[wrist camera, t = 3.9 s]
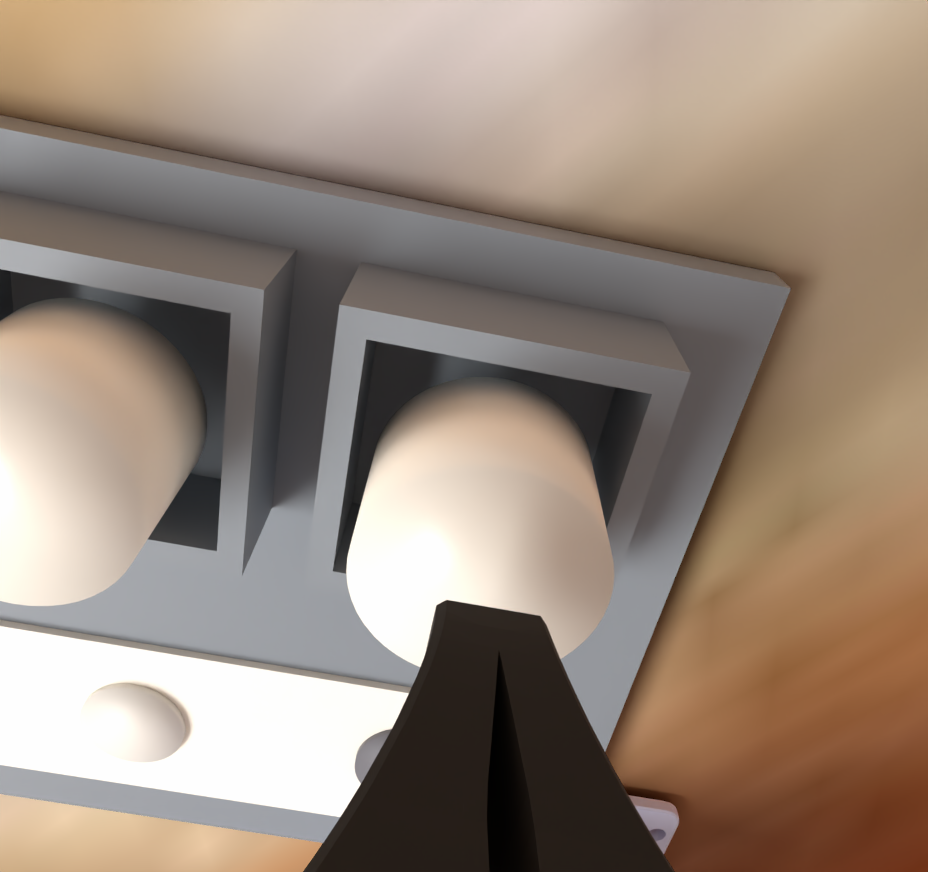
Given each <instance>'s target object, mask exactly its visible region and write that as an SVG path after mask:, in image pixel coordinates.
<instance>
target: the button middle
mask: <svg viewBox="0 0 928 872" xmlns="http://www.w3.org/2000/svg"><path fill="white" fill-rule="evenodd" d="M207 428H208V425H207V410H206V404H205V400H204V396H203V393H202V390H201V387H200V385H199V383H198V381H197V378H196V376H195V374H194V372H193V371H192V369H191V368H190V366H189V364H188V363H187V361H186V360H185V359H184V357H183V356H182V355H181V354H180V352H179V351H178V350H177V349H176V348H175V347H174V346H173V345H172V343H171V342H170V341H169V340H168V339H167V338H166V337H164V336H163V335H162V334H161V333H160V332H158V331H157V330H156V329H155V328H153V327H152V326H151V325H149V324H147V323H146V322H144V321H143V320H141V319H140V318H138V317H136V316H134V315H132V314H130V313H128V312H126V311H124V310H122V309H119V308H117V307H114V306H111V305H109V304H105V303H102V302H98V301H94V300H88V299H80V298H55V299H47V300H42V301H39V302H35V303H31V304H29V305H27V306H25V307H22V308H20V309H18V310H16V311H15V312H13V313H12V314H10V315H9V316H7V317H5V318H4V319H2V320H1V321H0V601H3V602H7V603H12V604H19V605H27V606H54V605H64V604H69V603H74V602H78V601H81V600H84V599H87V598H90V597H92V596H94V595H96V594H98V593H100V592H102V591H104V590H106V589H107V588H108V587H110V586H111V585H113V584H114V583H115V582H116V581H117V580H118V579H119V578H120V577H121V576H122V575H123V574H124V573H125V572H126V571H127V570H128V568H129V567H130V565H131V564H132V562H133V561H134V559H135V558H136V556H137V555H138V553H139V552H140V550H141V549H142V547H143V545H144V544H145V542H146V541H147V539H148V538H149V536H150V535H151V533H152V532H153V530H154V528H155V527H156V525H157V524H158V522H159V521H160V519H161V518H162V516H163V515H164V513H165V511H166V510H167V508H168V507H169V505H170V504H171V502H172V501H173V499H174V497H175V496H176V494H177V493H178V491H179V490H180V488H181V487H182V485H183V484H184V482H185V480H186V479H187V477H188V476H189V474H190V473H191V471H192V470H193V468H194V467H195V465H196V463H197V462H198V460H199V458H200V456H201V453H202V451H203V448H204V445H205V441H206V436H207Z"/></svg>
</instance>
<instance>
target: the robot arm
mask: <svg viewBox="0 0 928 872" xmlns="http://www.w3.org/2000/svg"><path fill="white" fill-rule="evenodd" d="M678 825H679V816H678V812H677V809H676V807H675V806H674V805H673V804H671V803H669V802H666V801H662V800H656V799H649V798H643V797H637V796H631V795H628V794H627V792H626V790H625V788H624V787H623V785H622V783H621V781H620V779H619V778H618V776H617V774H616V772H615V770H614V769H613V767H612V765H611V763H610V761H609V759H608V757H607V755H606V753H605V751H604V749H603V747H602V745H601V743H600V742H599V740H598V738H597V736H596V734H595V732H594V730H593V728H592V726H591V724H590V722H589V720H588V718H587V716H586V714H585V712H584V710H583V708H582V706H581V704H580V701H579V699H578V697H577V695H576V693H575V691H574V688H573V686H572V684H571V682H570V680H569V678H568V675H567V673H566V671H565V668H564V666H563V664H562V662H561V659H560V657H559V654H558V652H557V650H556V647H555V645H554V642H553V640H552V638H551V635H550V632H549V630H548V627H547V625H546V623H545V622H544V620H543V619H542V617H541V616H539V615H533V614H527V613H521V612H515V611H509V610H504V609H498V608H492V607H486V606H480V605H475V604H469V603H463V602H457V601H451V600H445V601H443V602H441V603H440V604H438V605H436V609H435V613H434V617H433V622H432V626H431V631H430V635H429V639H428V644H427V648H426V653H425V656H424V659H423V661H422V664H421V667H420V669H419V672H418V674H417V677H416V679H415V681H414V683H413V685H412V688H411V690H410V692H409V694H408V696H407V698H406V701H405V703H404V705H403V707H402V709H401V711H400V713H399V716H398V718H397V720H396V722H395V724H394V726H393V728H392V729H391V731H390V733H389V735H388V737H387V739H386V740H385V742H384V744H383V746H382V747H381V749H380V751H379V753H378V755H377V756H376V758H375V760H374V762H373V764H372V765H371V767H370V769H369V771H368V772H367V774H366V776H365V778H364V780H363V781H362V783H361V785H360V786H359V788H358V790H357V791H356V793H355V794H354V796H353V798H352V799H351V801H350V803H349V804H348V806H347V807H346V809H345V810H344V812H343V814H342V815H341V817H340V818H339V820H338V821H337V823H336V824H335V826H334V827H333V829H332V830H331V832H330V833H329V835H328V836H327V838H326V839H325V841H324V842H323V844H322V845H321V847H320V848H319V850H318V851H317V853H316V854H315V856H314V857H313V859H312V860H311V861H310V863H309V864H308V866H307V867H306V868H305V870H304V871H303V872H675V871H674V870H673V868H672V867H671V865H670V863H669V862H668V860H667V859H666V857H665V856H664V853H665V851H666V849H667V847H668V845H669V843H670V841H671V839H672V837H673V835H674V833H675V831H676V829H677V827H678Z"/></svg>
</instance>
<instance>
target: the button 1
mask: <svg viewBox="0 0 928 872" xmlns="http://www.w3.org/2000/svg"><path fill="white" fill-rule="evenodd" d="M346 574H347V585H348V589H349V593H350V597H351V600H352V602H353V605H354V607H355V610H356V612H357V614H358V615H359V617H360V618H361V620H362V622H363V623H364V625H365V626H366V627H367V628H368V630H369V631H370V632H371V633H372V635H373V636H374V637H375V638H376V639H377V640H379V641H380V642H381V643H382V644H383V645H384V646H385V647H386V648H388V649H389V650H390V651H392V652H393V653H395V654H396V655H397V656H399V657H401V658H403V659H404V660H406V661H408V662H410V663H412V664H414V665H416V666H419V667H421V664H422V661H423V659H424V656H425V653H426V648H427V644H428V639H429V635H430V631H431V626H432V622H433V617H434V613H435V609H436V605H438V604H440V603H441V602H443V601H445V600H451V601H457V602H463V603H469V604H475V605H480V606H486V607H492V608H498V609H504V610H509V611H515V612H521V613H527V614H533V615H539V616H541V617H542V619H543V620H544V622H545V623H546V625H547V627H548V630H549V632H550V635H551V638H552V640H553V642H554V645H555V647H556V650H557V652H558V654H559V657H560V659H561V658H563V657H565V656H566V655H567V654H569V653H570V652H572V651H573V650H575V649H576V648H577V647H578V646H579V645H580V644H581V643H583V642H584V641H585V640H586V639H587V638H588V637H589V635H590V634H591V633H592V632H593V631H594V630H595V628H596V627H597V625H598V624H599V622H600V621H601V619H602V618H603V616H604V614H605V612H606V609H607V607H608V605H609V602H610V599H611V595H612V591H613V584H614V561H613V557H612V552H611V548H610V543H609V539H608V534H607V529H606V525H605V520H604V516H603V511H602V507H601V502H600V497H599V493H598V488H597V484H596V479H595V475H594V470H593V466H592V461H591V457H590V452H589V448H588V445H587V443H586V440H585V438H584V435H583V433H582V432H581V430H580V428H579V426H578V425H577V423H576V422H575V421H574V419H573V418H572V417H571V416H570V414H569V413H568V412H567V411H566V410H565V409H564V408H563V407H562V406H560V405H559V404H558V403H557V402H556V401H554V400H553V399H551V398H550V397H549V396H547V395H546V394H544V393H542V392H540V391H538V390H536V389H535V388H532V387H530V386H527V385H525V384H522V383H519V382H515V381H511V380H507V379H502V378H494V377H470V378H461V379H456V380H452V381H448V382H444V383H441V384H439V385H436V386H433V387H431V388H429V389H427V390H425V391H423V392H421V393H419V394H418V395H416V396H415V397H413V398H412V399H411V400H409V401H408V402H406V403H405V404H404V405H403V406H402V407H401V408H400V409H399V410H398V411H397V412H396V413H395V414H394V415H393V417H392V418H391V419H390V420H389V422H388V423H387V425H386V426H385V428H384V430H383V431H382V433H381V435H380V438H379V440H378V443H377V445H376V449H375V453H374V457H373V460H372V464H371V468H370V472H369V476H368V479H367V483H366V487H365V491H364V495H363V499H362V502H361V506H360V510H359V514H358V518H357V521H356V525H355V529H354V533H353V537H352V540H351V544H350V548H349V553H348V557H347V569H346Z"/></svg>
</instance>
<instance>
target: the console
mask: <svg viewBox="0 0 928 872" xmlns="http://www.w3.org/2000/svg"><path fill="white" fill-rule="evenodd" d="M790 290H791V288H790V287H789V286H788V285H787V284H786V283H785V282H784V281H783V280H782V279H781V278H779V277H778V276H777V275H776V274H775V273H774V272H769V271H764V270H759V269H754V268H749V267H744V266H739V265H734V264H729V263H725V262H720V261H715V260H710V259H705V258H700V257H695V256H690V255H685V254H680V253H675V252H671V251H666V250H661V249H656V248H651V247H646V246H641V245H636V244H631V243H626V242H621V241H617V240H612V239H607V238H602V237H597V236H592V235H587V234H582V233H577V232H572V231H568V230H563V229H558V228H553V227H548V226H543V225H538V224H533V223H528V222H523V221H518V220H514V219H509V218H504V217H499V216H494V215H489V214H484V213H479V212H474V211H469V210H465V209H460V208H455V207H450V206H445V205H440V204H435V203H430V202H425V201H420V200H415V199H411V198H406V197H401V196H396V195H391V194H386V193H381V192H376V191H371V190H366V189H361V188H357V187H352V186H347V185H342V184H337V183H332V182H327V181H322V180H317V179H312V178H308V177H303V176H298V175H293V174H288V173H283V172H278V171H273V170H268V169H263V168H258V167H254V166H249V165H244V164H239V163H234V162H229V161H224V160H219V159H214V158H209V157H205V156H200V155H195V154H190V153H185V152H180V151H175V150H170V149H165V148H160V147H155V146H151V145H146V144H141V143H136V142H131V141H126V140H121V139H116V138H111V137H106V136H102V135H97V134H92V133H87V132H82V131H77V130H72V129H67V128H62V127H57V126H52V125H48V124H43V123H38V122H33V121H28V120H23V119H18V118H13V117H8V116H3V115H0V321H1V320H2V319H4V318H5V317H7V316H9V315H10V314H12V313H13V312H15V311H16V310H18V309H20V308H22V307H25V306H27V305H29V304H31V303H35V302H39V301H42V300H47V299H55V298H80V299H88V300H94V301H98V302H102V303H105V304H109V305H111V306H114V307H117V308H119V309H122V310H124V311H126V312H128V313H130V314H132V315H134V316H136V317H138V318H140V319H141V320H143V321H144V322H146V323H147V324H149V325H151V326H152V327H153V328H155V329H156V330H157V331H158V332H160V333H161V334H162V335H163V336H164V337H166V338H167V339H168V340H169V341H170V342H171V343H172V345H173V346H174V347H175V348H176V349H177V350H178V351H179V352H180V354H181V355H182V356H183V357H184V359H185V360H186V361H187V363H188V364H189V366H190V368H191V369H192V371H193V372H194V374H195V376H196V378H197V381H198V383H199V385H200V387H201V390H202V393H203V396H204V400H205V404H206V410H207V425H208V428H207V436H206V441H205V445H204V448H203V451H202V453H201V456H200V458H199V460H198V462H197V463H196V465H195V467H194V468H193V470H192V471H191V473H190V474H189V476H188V477H187V479H186V480H185V482H184V484H183V485H182V487H181V488H180V490H179V491H178V493H177V494H176V496H175V497H174V499H173V501H172V502H171V504H170V505H169V507H168V508H167V510H166V511H165V513H164V515H163V516H162V518H161V519H160V521H159V522H158V524H157V525H156V527H155V528H154V530H153V532H152V533H151V535H150V536H149V538H148V539H147V541H146V542H145V544H144V545H143V547H142V549H141V550H140V552H139V553H138V555H137V556H136V558H135V559H134V561H133V562H132V564H131V565H130V567H129V568H128V570H127V571H126V572H125V573H124V574H123V575H122V576H121V577H120V578H119V579H118V580H117V581H116V582H115V583H114V584H113V585H111V586H110V587H108V588H107V589H106V590H104V591H102V592H100V593H98V594H96V595H94V596H92V597H90V598H87V599H84V600H81V601H78V602H74V603H69V604H64V605H54V606H27V605H19V604H12V603H7V602H3V601H0V794H4V795H11V796H17V797H24V798H30V799H37V800H44V801H50V802H57V803H63V804H70V805H77V806H83V807H90V808H96V809H103V810H110V811H116V812H123V813H129V814H136V815H143V816H149V817H156V818H162V819H169V820H176V821H182V822H189V823H195V824H202V825H209V826H215V827H222V828H229V829H235V830H242V831H248V832H255V833H262V834H268V835H275V836H281V837H288V838H295V839H301V840H308V841H314V842H321V843H323V842H324V841H325V839H326V838H327V836H328V835H329V833H330V832H331V830H332V829H333V827H334V826H335V824H336V823H337V821H338V820H339V818H340V817H341V815H342V814H343V812H344V810H345V809H346V807H347V806H348V804H349V803H350V801H351V799H352V798H353V796H354V794H355V793H356V791H357V790H358V788H359V786H360V785H361V783H362V781H363V780H364V778H365V776H366V774H367V772H368V771H369V769H370V767H371V765H372V764H373V762H374V760H375V758H376V756H377V755H378V753H379V751H380V749H381V747H382V746H383V744H384V742H385V740H386V739H387V737H388V735H389V733H390V731H391V729H392V728H393V726H394V724H395V722H396V720H397V718H398V716H399V713H400V711H401V709H402V707H403V705H404V703H405V701H406V698H407V696H408V694H409V692H410V690H411V688H412V685H413V683H414V681H415V679H416V677H417V674H418V672H419V669H420V667H419V666H416V665H414V664H412V663H410V662H408V661H406V660H404V659H403V658H401V657H399V656H397V655H396V654H395V653H393V652H392V651H390V650H389V649H388V648H386V647H385V646H384V645H383V644H382V643H381V642H380V641H379V640H377V639H376V638H375V637H374V636H373V635H372V633H371V632H370V631H369V630H368V628H367V627H366V626H365V625H364V623H363V622H362V620H361V618H360V617H359V615H358V614H357V612H356V610H355V607H354V605H353V602H352V600H351V597H350V593H349V589H348V585H347V574H346V569H347V557H348V553H349V548H350V544H351V540H352V537H353V533H354V529H355V525H356V521H357V518H358V514H359V510H360V506H361V502H362V499H363V495H364V491H365V487H366V483H367V479H368V476H369V472H370V468H371V464H372V460H373V457H374V453H375V449H376V445H377V443H378V440H379V438H380V435H381V433H382V431H383V430H384V428H385V426H386V425H387V423H388V422H389V420H390V419H391V418H392V417H393V415H394V414H395V413H396V412H397V411H398V410H399V409H400V408H401V407H402V406H403V405H404V404H405V403H406V402H408V401H409V400H411V399H412V398H413V397H415V396H416V395H418V394H419V393H421V392H423V391H425V390H427V389H429V388H431V387H433V386H436V385H439V384H441V383H444V382H448V381H452V380H456V379H461V378H470V377H494V378H502V379H507V380H511V381H515V382H519V383H522V384H525V385H527V386H530V387H532V388H535V389H536V390H538V391H540V392H542V393H544V394H546V395H547V396H549V397H550V398H551V399H553V400H554V401H556V402H557V403H558V404H559V405H560V406H562V407H563V408H564V409H565V410H566V411H567V412H568V413H569V414H570V416H571V417H572V418H573V419H574V421H575V422H576V423H577V425H578V426H579V428H580V430H581V432H582V433H583V435H584V438H585V440H586V443H587V445H588V448H589V452H590V457H591V461H592V466H593V470H594V475H595V479H596V484H597V488H598V493H599V497H600V502H601V507H602V511H603V516H604V520H605V525H606V529H607V534H608V539H609V543H610V548H611V552H612V557H613V561H614V584H613V591H612V595H611V599H610V602H609V605H608V607H607V609H606V612H605V614H604V616H603V618H602V619H601V621H600V622H599V624H598V625H597V627H596V628H595V630H594V631H593V632H592V633H591V634H590V635H589V637H588V638H587V639H586V640H585V641H584V642H583V643H581V644H580V645H579V646H578V647H577V648H576V649H575V650H573V651H572V652H570V653H569V654H567V655H566V656H565V657H563V658H561V662H562V664H563V666H564V668H565V671H566V673H567V675H568V678H569V680H570V682H571V684H572V686H573V688H574V691H575V693H576V695H577V697H578V699H579V701H580V704H581V706H582V708H583V710H584V712H585V714H586V716H587V718H588V720H589V722H590V724H591V726H592V728H593V730H594V732H595V734H596V736H597V738H598V740H599V742H600V743H601V745H602V747H603V749H604V751H606V749H607V746H608V744H609V741H610V739H611V736H612V734H613V731H614V729H615V726H616V724H617V721H618V719H619V716H620V714H621V711H622V709H623V706H624V704H625V701H626V699H627V696H628V694H629V691H630V689H631V686H632V684H633V681H634V679H635V676H636V674H637V671H638V669H639V666H640V664H641V661H642V659H643V656H644V654H645V651H646V649H647V646H648V644H649V641H650V639H651V636H652V634H653V631H654V629H655V626H656V624H657V622H658V619H659V617H660V614H661V612H662V609H663V607H664V604H665V602H666V599H667V597H668V594H669V592H670V589H671V587H672V584H673V582H674V579H675V577H676V574H677V572H678V569H679V567H680V564H681V562H682V559H683V557H684V554H685V552H686V549H687V547H688V544H689V542H690V539H691V537H692V534H693V532H694V529H695V527H696V524H697V522H698V519H699V517H700V514H701V512H702V509H703V507H704V504H705V502H706V499H707V497H708V494H709V492H710V489H711V487H712V484H713V482H714V479H715V477H716V474H717V472H718V469H719V467H720V464H721V462H722V459H723V457H724V454H725V452H726V449H727V447H728V444H729V442H730V439H731V437H732V435H733V432H734V430H735V427H736V425H737V422H738V420H739V417H740V415H741V412H742V410H743V407H744V405H745V402H746V400H747V397H748V395H749V392H750V390H751V387H752V385H753V382H754V380H755V377H756V375H757V372H758V370H759V367H760V365H761V362H762V360H763V357H764V355H765V352H766V350H767V347H768V345H769V342H770V340H771V337H772V335H773V332H774V330H775V327H776V325H777V322H778V320H779V317H780V315H781V312H782V310H783V307H784V305H785V302H786V300H787V297H788V295H789V292H790Z"/></svg>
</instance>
